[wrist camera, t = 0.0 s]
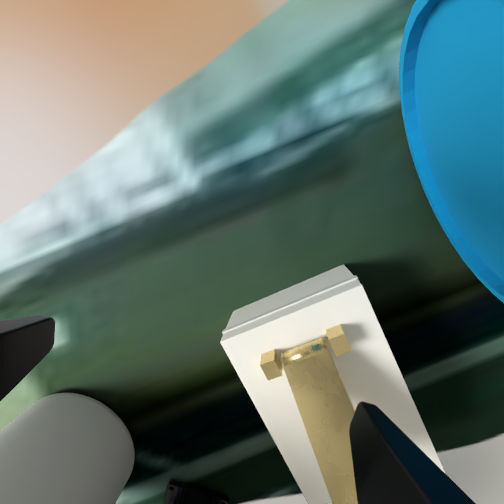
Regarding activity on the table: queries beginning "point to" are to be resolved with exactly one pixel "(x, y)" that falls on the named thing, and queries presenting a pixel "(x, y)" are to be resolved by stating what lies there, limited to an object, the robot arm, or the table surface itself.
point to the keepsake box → (343, 353)
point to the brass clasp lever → (324, 415)
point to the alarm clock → (459, 123)
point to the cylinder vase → (65, 453)
